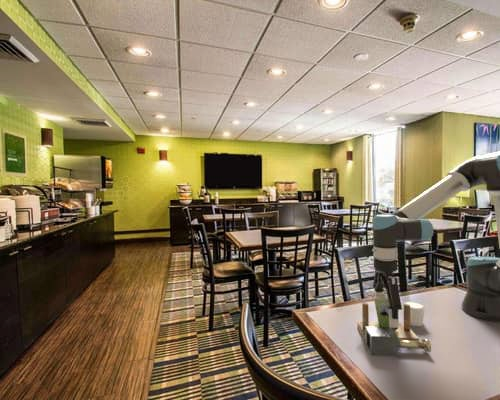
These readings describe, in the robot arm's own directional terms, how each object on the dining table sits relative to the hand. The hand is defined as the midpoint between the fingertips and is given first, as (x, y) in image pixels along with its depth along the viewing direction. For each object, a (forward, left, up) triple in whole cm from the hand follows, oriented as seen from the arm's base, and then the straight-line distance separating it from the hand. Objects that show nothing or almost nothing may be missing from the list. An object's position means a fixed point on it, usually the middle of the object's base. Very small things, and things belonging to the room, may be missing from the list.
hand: (386, 317), depth 94 cm
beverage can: (0, 0, -4) cm, 4 cm away
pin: (-4, +10, -6) cm, 12 cm away
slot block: (+5, +10, -6) cm, 13 cm away
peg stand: (0, 0, -6) cm, 6 cm away
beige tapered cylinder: (-14, -10, -6) cm, 18 cm away
